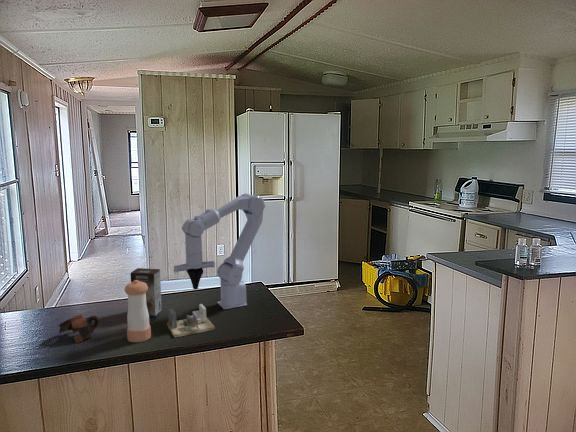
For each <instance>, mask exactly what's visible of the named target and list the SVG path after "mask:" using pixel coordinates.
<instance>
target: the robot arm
mask: <svg viewBox="0 0 576 432" xmlns="http://www.w3.org/2000/svg"><path fill="white" fill-rule="evenodd" d="M265 208H266V204H265V201H264V199H263V197H262V196H260V195H255V194H254V195H253V194H250V193H243V194H241V195H239V196H236V197H235V198H234V199H233V200H231V201H229V202H227V203H226V204H224V205H221V206H220V207H219V208H217V209H216V210H215V209H212V208H210V209H209V208H207V209H205V210H204V211H205V212H202V213H201V214H199V215H194V217H193V218H188V219H187V220H185V221H184V222H183V225H182V227H181V229H182V232H183V233H184V238H185V241H184V242H185V243H184V244H185V262H186V263H183V264H179V265H174V266H173V272H174V273H178V272H186V273H187V275H188V276H189V279H190V281H191V285H192V289H193V290H198V289H199V286H200V282H201V278H202V276H203V274H204V269H208V268H215V266H216V264H215V261H214V260H210V261H209V260H208V261H203V245H202V244H203V243H202V235H203V233H204V231H206V230H208V229H209V228H212V227H213V226H215V225H217V224H219V223H220V220H221V218H224V217H225V216H228V215H230V214H233V213H235V212H237V211H238V210H241V211H242V212H243V213H244V214H245V217H246V219H247V220H246V222H245V224H244V227H243V229H242V230H241V232H240V235H239V237H238V239H237V241H236V243H235V245H234V247H233V249H232V251H231V253H230V254H229V256H228V257H227V258H225V259H224V260H223V261H222V263H221V264H220V265H219V267H218V268H217V271H216V272H217V274H216V275H217V276H218V278H219V279H220V301H217V304H218V305H219V307H221V308H222V309H223V310H228V309H234V308H238V307H239V308H240V307H244V306H248V303H247V286H246V283H245V282H244V281H243V280H242V279H243V272H244V270H245V266H244V260H245V259H246V256H247V254H248V253H249V250H250V248H251V245H252V243H253V242H254V239H255V237H256V235H257V233H258V232H259V230H260V227H261V225H262V223H263V220H264V219H263V218H264V209H265Z"/></svg>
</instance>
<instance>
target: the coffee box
mask: <svg viewBox="0 0 576 432" xmlns="http://www.w3.org/2000/svg"><path fill="white" fill-rule="evenodd" d="M134 280H138V281H141V282H145V283H146V284H147V286H148V290H147V292H146V305H147V309H148V314H149V317H150V316H152V317H153V316H154V317H155V316H157V315H158V314H159V313H160V312H161V311H162V290H161V289H162V286H161V269H160V268H143V267H141V268H140V267H138V268H136V269H134V270H132V271H131V272H130V283H131V282H133V281H134Z"/></svg>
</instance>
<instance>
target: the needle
mask: <svg viewBox="0 0 576 432" xmlns="http://www.w3.org/2000/svg"><path fill="white" fill-rule="evenodd" d="M182 320H183V325H184V326H189V325H188V321H187V320H184V319H182Z"/></svg>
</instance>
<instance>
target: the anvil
mask: <svg viewBox="0 0 576 432" xmlns="http://www.w3.org/2000/svg"><path fill="white" fill-rule="evenodd" d="M167 313H168V315H167V316H168V322H169V324H170V326H171V327H172V329H174V328H177V321H178V319H177V313H176V311H175V310H174V308H172V307H171V308H168V310H167Z"/></svg>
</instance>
